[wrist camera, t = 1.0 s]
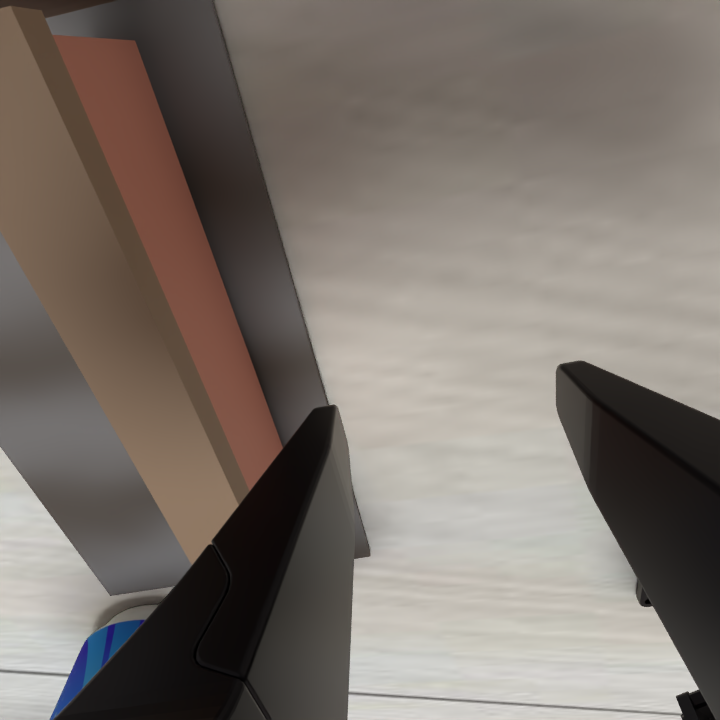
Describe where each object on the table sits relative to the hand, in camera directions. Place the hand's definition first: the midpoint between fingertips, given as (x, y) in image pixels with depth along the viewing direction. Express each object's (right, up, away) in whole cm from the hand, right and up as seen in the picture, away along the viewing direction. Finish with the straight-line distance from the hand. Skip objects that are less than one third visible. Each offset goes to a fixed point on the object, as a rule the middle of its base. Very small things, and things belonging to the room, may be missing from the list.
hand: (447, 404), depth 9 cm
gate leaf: (-7, +1, +10) cm, 12 cm away
